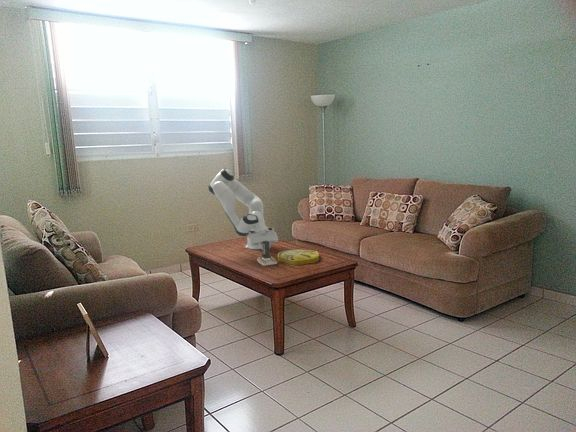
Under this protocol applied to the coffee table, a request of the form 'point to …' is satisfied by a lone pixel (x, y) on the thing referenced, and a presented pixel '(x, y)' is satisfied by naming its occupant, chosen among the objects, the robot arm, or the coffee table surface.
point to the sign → (298, 256)
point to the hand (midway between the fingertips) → (266, 248)
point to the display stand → (267, 261)
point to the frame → (266, 250)
